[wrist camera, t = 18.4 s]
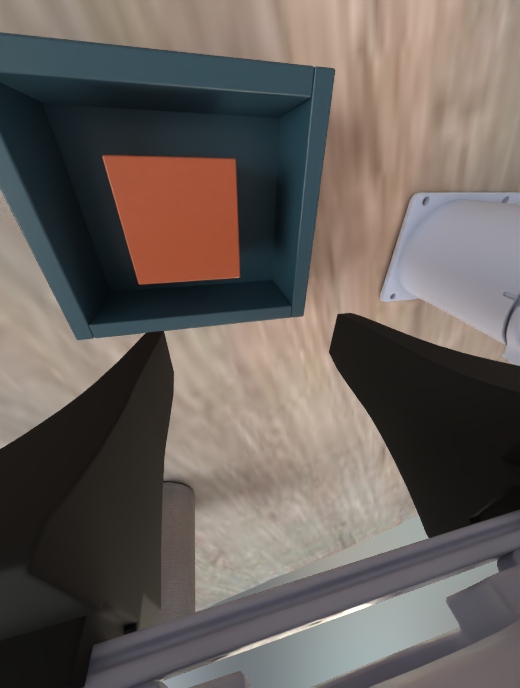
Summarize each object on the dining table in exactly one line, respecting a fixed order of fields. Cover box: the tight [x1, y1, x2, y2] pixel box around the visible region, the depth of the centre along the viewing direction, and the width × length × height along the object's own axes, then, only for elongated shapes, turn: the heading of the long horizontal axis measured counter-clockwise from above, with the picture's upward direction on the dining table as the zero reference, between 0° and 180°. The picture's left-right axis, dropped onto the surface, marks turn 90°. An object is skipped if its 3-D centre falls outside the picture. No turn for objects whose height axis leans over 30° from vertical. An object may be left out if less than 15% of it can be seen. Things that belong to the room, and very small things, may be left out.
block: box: [102, 155, 240, 285], centre depth 12 cm, size 5×5×5 cm
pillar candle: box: [151, 482, 195, 627], centre depth 25 cm, size 10×10×15 cm
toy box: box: [0, 32, 335, 340], centre depth 12 cm, size 12×10×5 cm
